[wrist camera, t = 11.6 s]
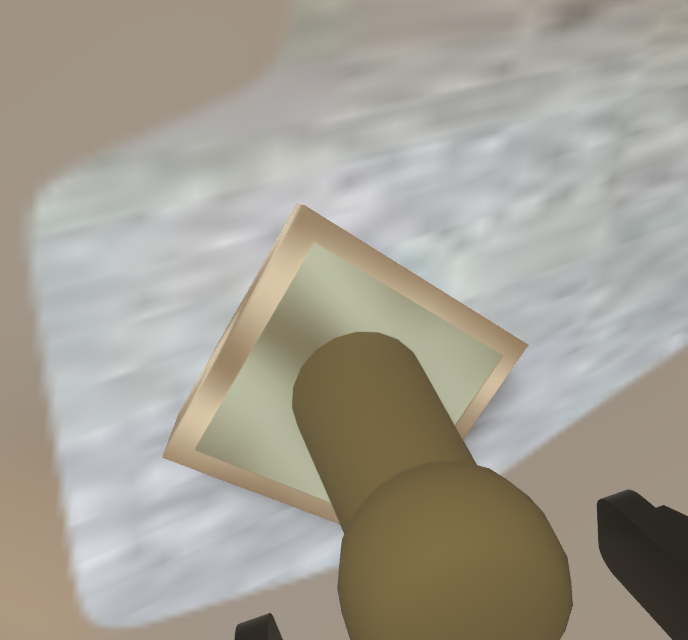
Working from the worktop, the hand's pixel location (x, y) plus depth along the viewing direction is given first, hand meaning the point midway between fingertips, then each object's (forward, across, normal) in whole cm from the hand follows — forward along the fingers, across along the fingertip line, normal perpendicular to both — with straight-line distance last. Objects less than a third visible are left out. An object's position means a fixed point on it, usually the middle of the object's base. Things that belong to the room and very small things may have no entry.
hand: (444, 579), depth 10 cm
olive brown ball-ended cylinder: (+9, 0, 0) cm, 9 cm away
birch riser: (+13, 0, 0) cm, 13 cm away
